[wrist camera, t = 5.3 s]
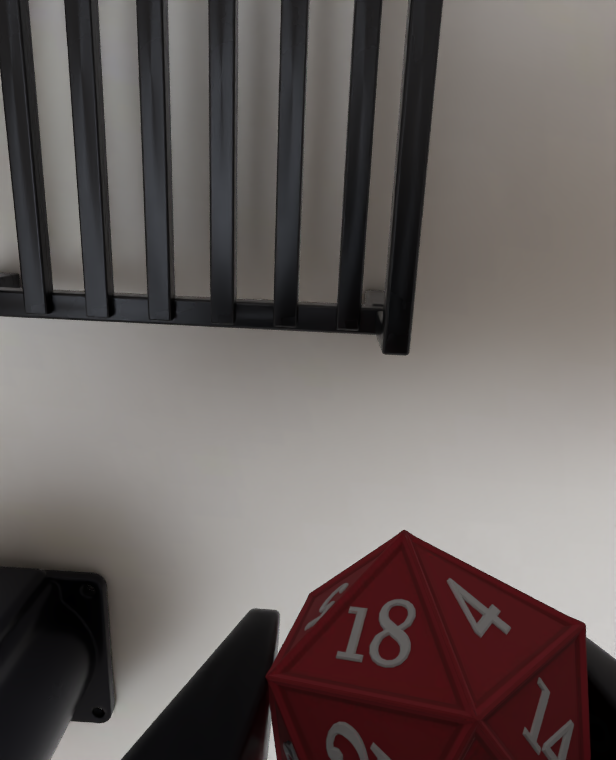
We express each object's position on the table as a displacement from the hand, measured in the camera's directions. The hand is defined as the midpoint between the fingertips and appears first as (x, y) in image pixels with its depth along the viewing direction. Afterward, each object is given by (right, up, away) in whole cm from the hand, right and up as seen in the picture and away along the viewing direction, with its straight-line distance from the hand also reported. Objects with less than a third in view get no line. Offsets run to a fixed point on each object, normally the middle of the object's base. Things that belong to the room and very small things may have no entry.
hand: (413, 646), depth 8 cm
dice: (0, 0, +1) cm, 1 cm away
